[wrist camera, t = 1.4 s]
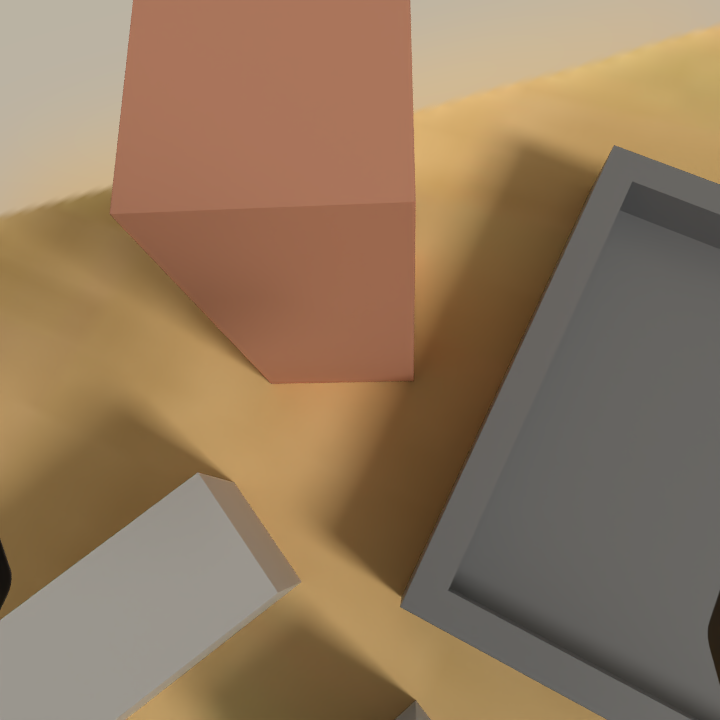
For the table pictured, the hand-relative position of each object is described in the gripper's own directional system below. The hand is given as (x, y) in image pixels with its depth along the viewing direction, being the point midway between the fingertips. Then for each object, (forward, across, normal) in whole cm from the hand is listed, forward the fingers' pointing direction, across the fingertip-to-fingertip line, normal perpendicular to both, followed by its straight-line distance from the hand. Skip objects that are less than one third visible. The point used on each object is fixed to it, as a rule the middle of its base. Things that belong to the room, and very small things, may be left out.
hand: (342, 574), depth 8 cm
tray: (+12, -11, +7) cm, 18 cm away
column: (+15, +2, +3) cm, 16 cm away
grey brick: (+9, +7, +11) cm, 15 cm away
